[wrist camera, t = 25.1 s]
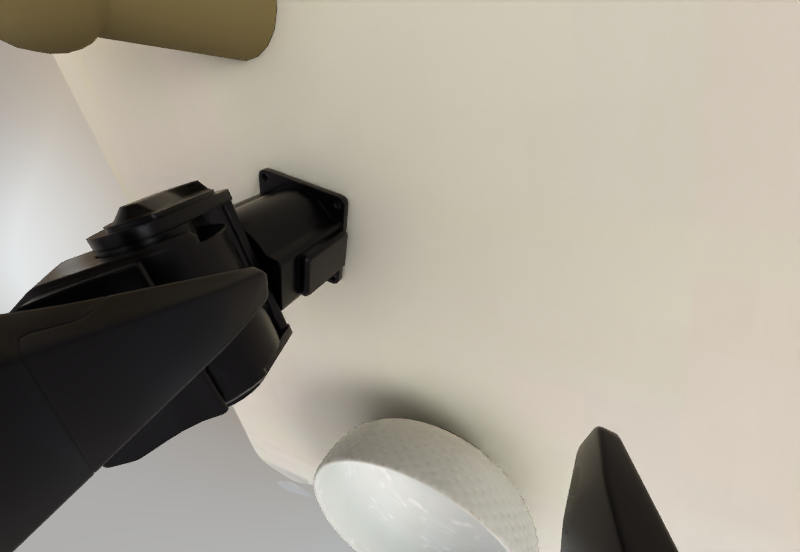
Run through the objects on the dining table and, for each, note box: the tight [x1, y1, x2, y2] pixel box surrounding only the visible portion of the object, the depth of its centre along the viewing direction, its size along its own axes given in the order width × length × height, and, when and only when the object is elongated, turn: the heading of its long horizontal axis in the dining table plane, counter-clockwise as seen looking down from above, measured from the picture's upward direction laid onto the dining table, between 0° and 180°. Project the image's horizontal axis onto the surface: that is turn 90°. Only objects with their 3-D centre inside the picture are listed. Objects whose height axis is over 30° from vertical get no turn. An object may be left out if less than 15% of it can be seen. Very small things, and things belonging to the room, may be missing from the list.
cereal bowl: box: [314, 418, 539, 552], centre depth 29 cm, size 17×17×7 cm
